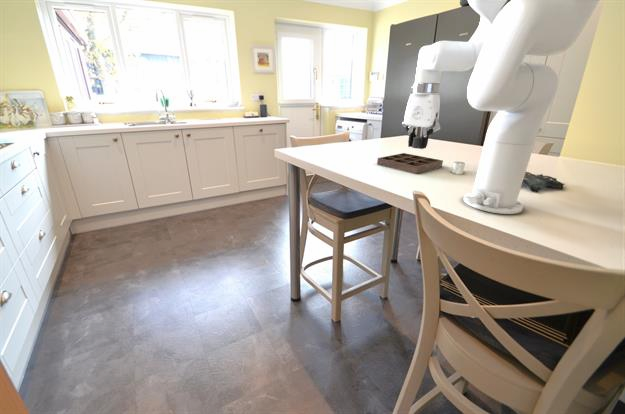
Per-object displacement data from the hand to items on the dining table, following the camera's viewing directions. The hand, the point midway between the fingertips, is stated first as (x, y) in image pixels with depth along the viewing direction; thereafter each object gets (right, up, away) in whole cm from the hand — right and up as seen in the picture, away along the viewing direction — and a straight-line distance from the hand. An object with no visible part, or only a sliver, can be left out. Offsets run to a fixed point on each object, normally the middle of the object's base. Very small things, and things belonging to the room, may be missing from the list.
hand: (417, 146), depth 97 cm
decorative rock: (+32, -14, -9) cm, 36 cm away
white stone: (+15, -9, +2) cm, 17 cm away
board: (+1, -5, +10) cm, 11 cm away
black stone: (0, 0, 0) cm, 0 cm away
